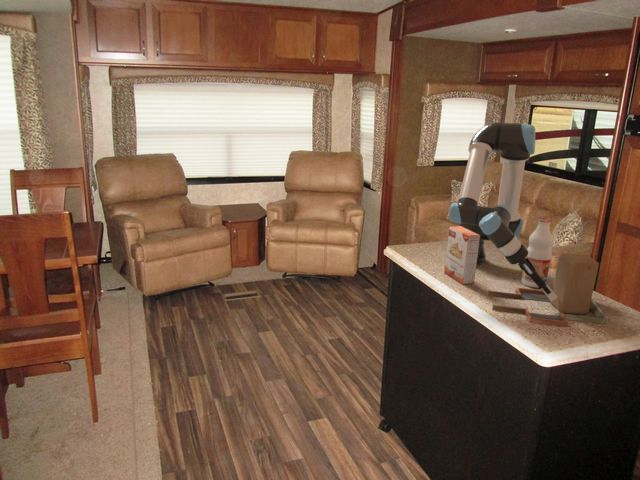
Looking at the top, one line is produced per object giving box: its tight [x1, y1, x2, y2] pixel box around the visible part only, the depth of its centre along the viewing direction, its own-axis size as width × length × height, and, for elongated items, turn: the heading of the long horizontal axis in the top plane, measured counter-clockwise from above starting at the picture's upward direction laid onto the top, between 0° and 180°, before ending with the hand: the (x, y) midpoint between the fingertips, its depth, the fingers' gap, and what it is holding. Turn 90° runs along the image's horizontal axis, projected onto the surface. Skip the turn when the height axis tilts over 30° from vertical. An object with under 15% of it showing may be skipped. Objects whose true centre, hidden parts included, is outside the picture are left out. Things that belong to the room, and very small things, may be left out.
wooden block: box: [550, 252, 600, 315], centre depth 179 cm, size 10×10×20 cm
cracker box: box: [444, 225, 480, 285], centre depth 204 cm, size 14×6×21 cm, turn 18°
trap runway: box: [487, 287, 607, 328], centre depth 181 cm, size 29×37×3 cm
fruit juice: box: [521, 216, 554, 289], centre depth 200 cm, size 9×9×28 cm
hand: (554, 298), depth 180 cm, fingers closed
